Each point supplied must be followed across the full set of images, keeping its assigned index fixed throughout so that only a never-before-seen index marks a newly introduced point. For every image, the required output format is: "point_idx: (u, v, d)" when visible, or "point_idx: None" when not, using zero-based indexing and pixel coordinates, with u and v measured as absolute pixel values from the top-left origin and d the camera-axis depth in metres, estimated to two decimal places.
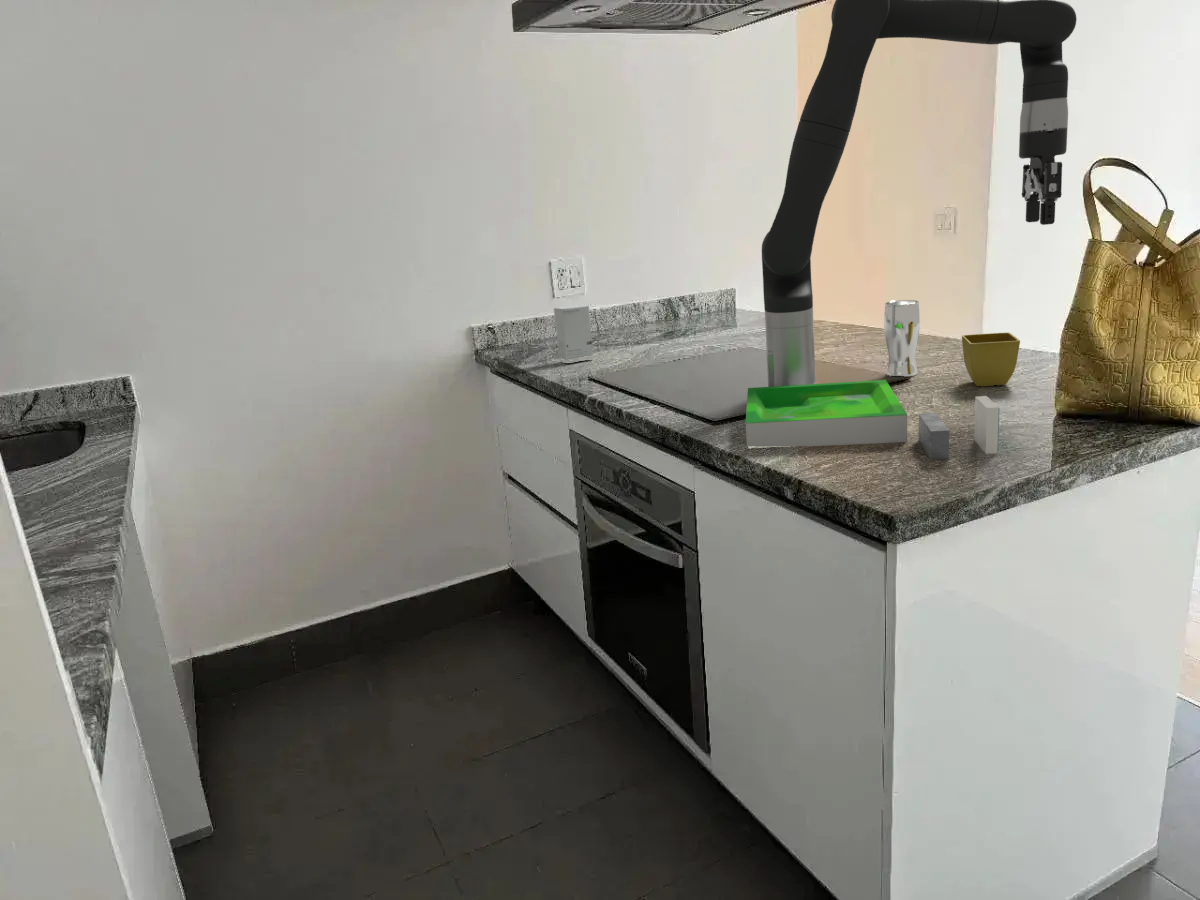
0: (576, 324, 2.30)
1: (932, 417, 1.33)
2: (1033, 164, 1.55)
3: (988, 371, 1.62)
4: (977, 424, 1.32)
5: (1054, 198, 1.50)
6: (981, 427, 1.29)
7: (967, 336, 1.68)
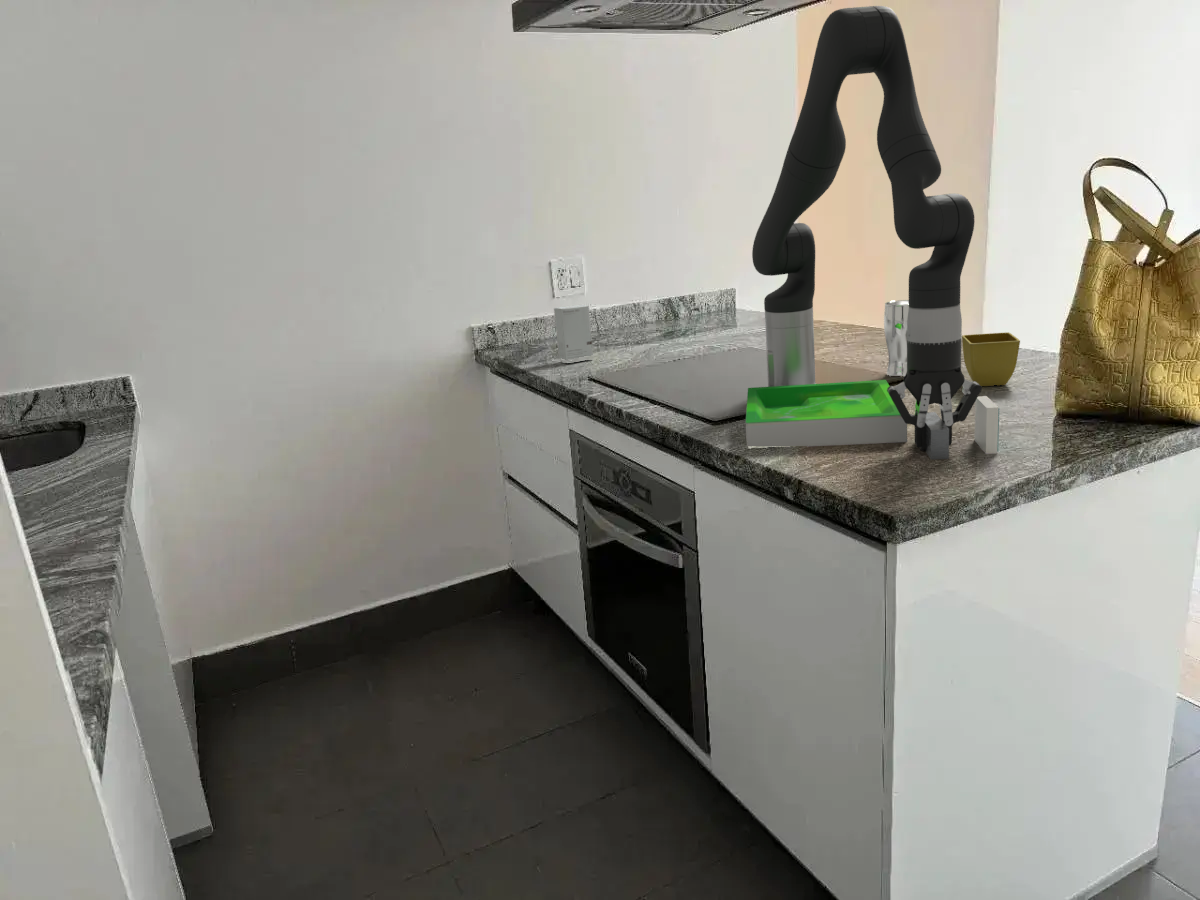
0: (576, 324, 2.30)
1: (932, 416, 1.33)
2: (927, 377, 1.28)
3: (988, 371, 1.62)
4: (977, 424, 1.32)
5: None
6: (981, 427, 1.29)
7: (967, 336, 1.68)
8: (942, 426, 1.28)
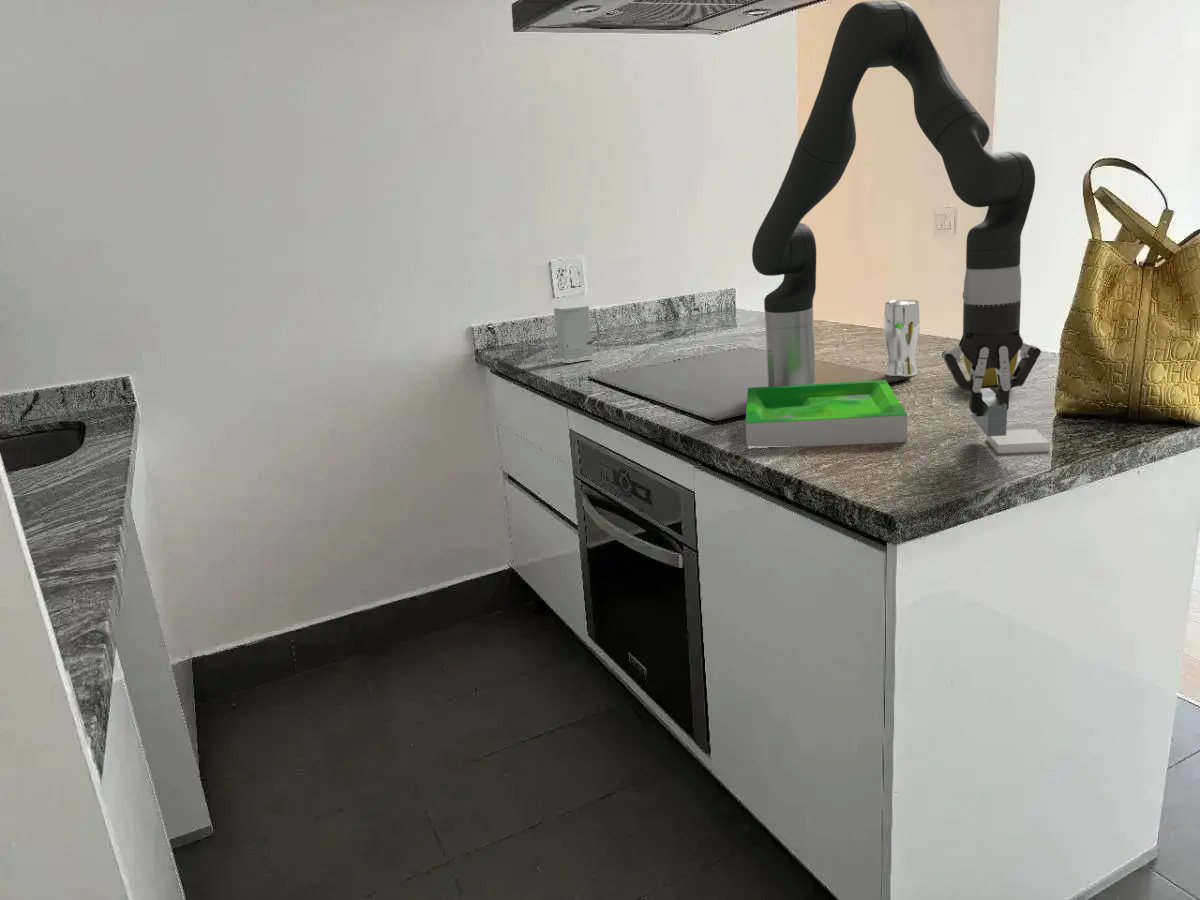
0: (576, 324, 2.30)
1: (987, 392, 1.31)
2: (984, 341, 1.25)
3: (988, 371, 1.62)
4: (1010, 433, 1.31)
5: None
6: (1016, 438, 1.29)
7: None
8: (999, 402, 1.25)
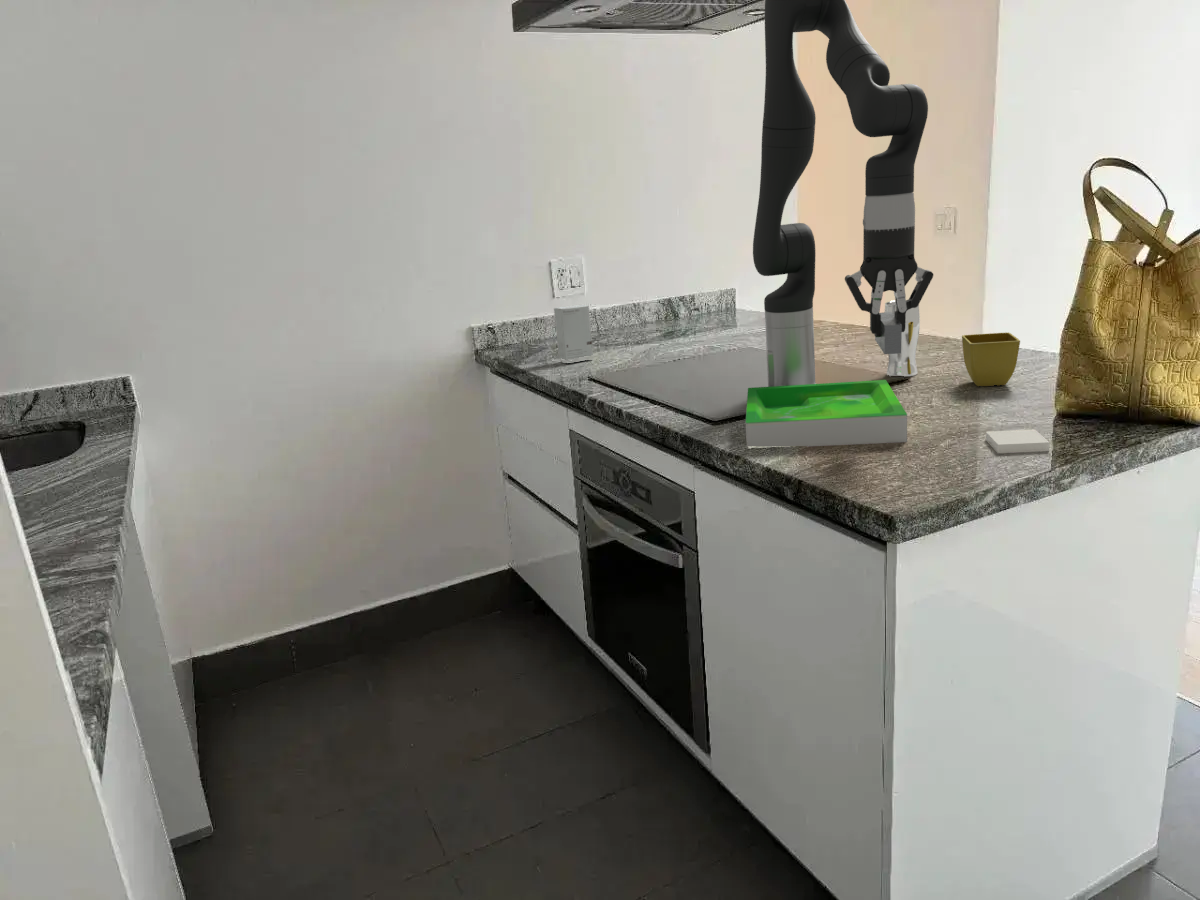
0: (576, 324, 2.30)
1: (887, 315, 1.40)
2: (882, 265, 1.34)
3: (988, 371, 1.62)
4: (1009, 433, 1.31)
5: None
6: (1016, 438, 1.29)
7: (967, 336, 1.68)
8: (896, 322, 1.34)
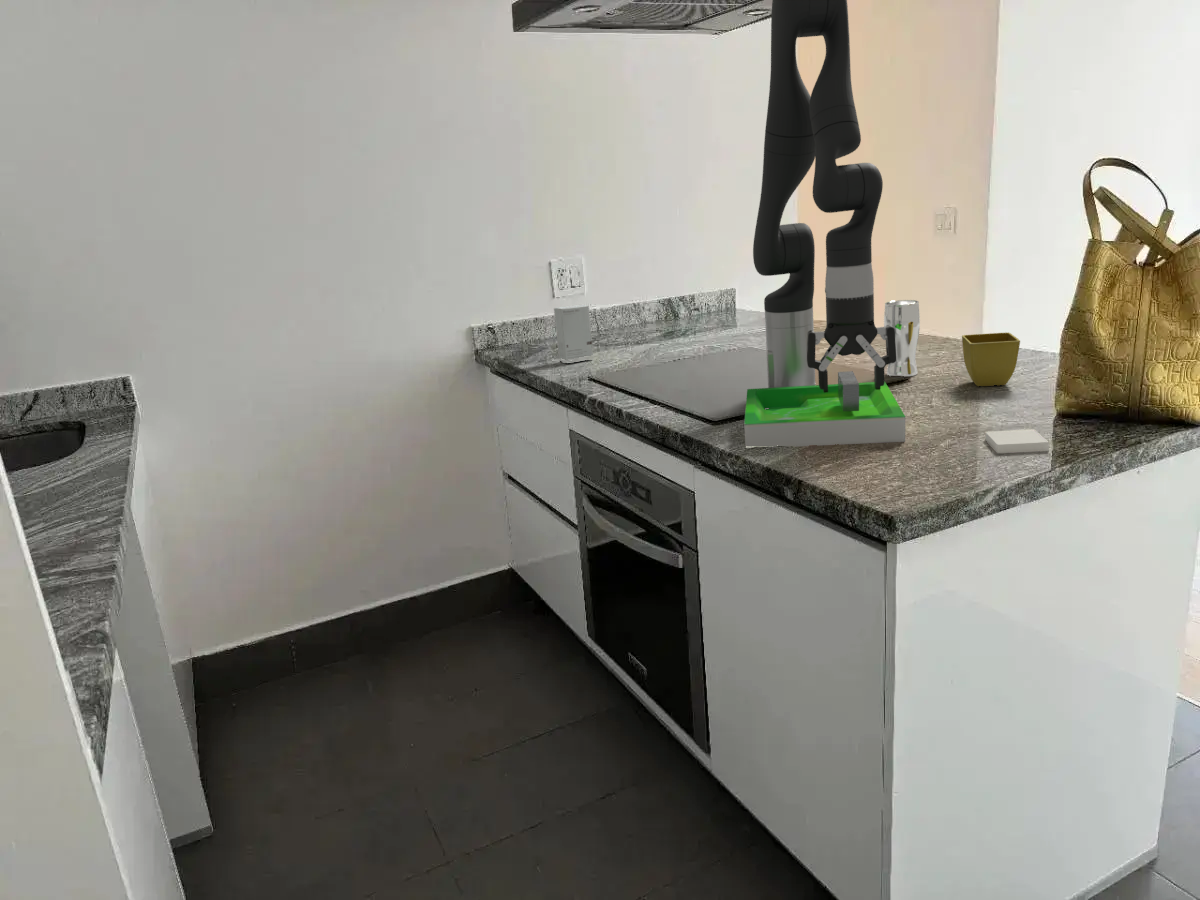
0: (576, 324, 2.30)
1: (848, 374, 1.48)
2: (844, 330, 1.42)
3: (988, 371, 1.62)
4: (1009, 433, 1.31)
5: None
6: (1015, 438, 1.29)
7: (967, 336, 1.68)
8: (854, 381, 1.42)
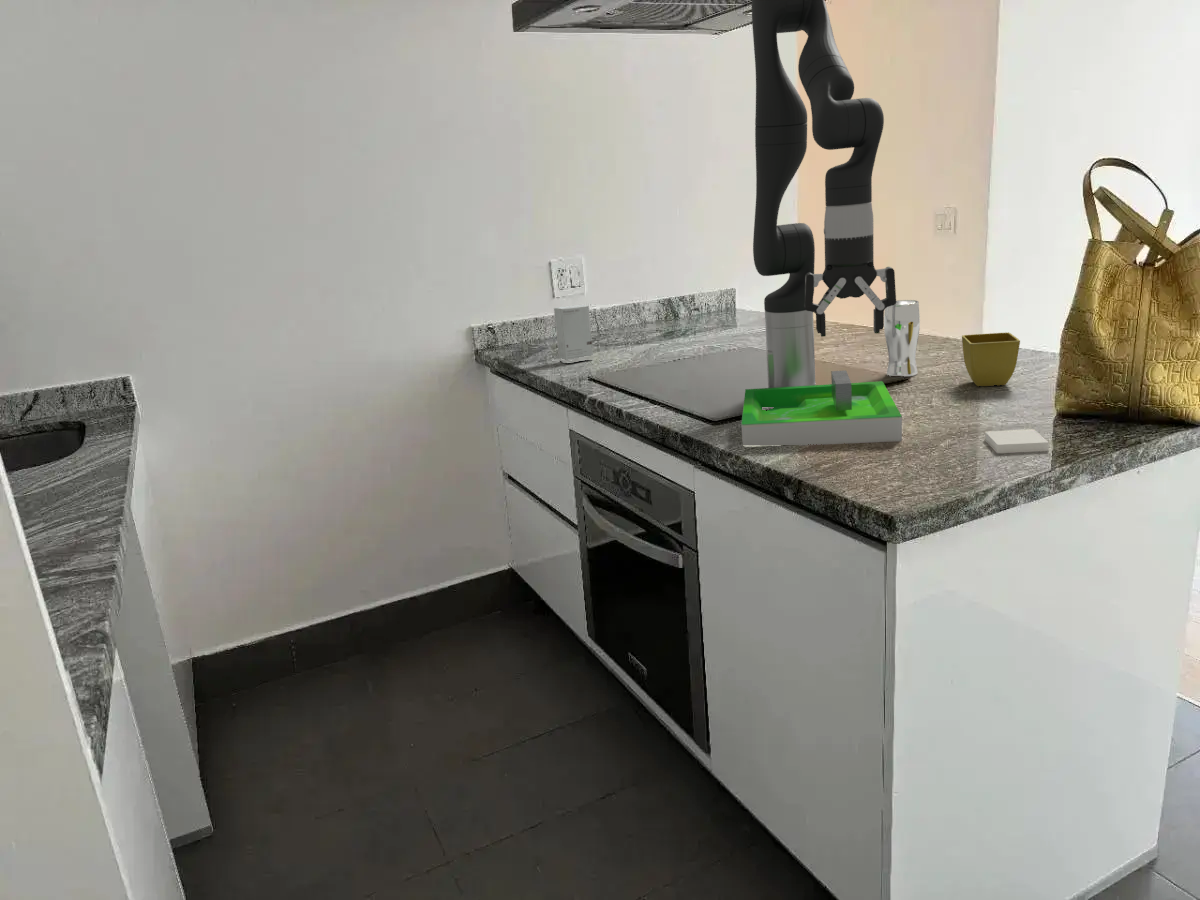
0: (576, 324, 2.30)
1: (841, 374, 1.49)
2: (842, 272, 1.39)
3: (988, 371, 1.62)
4: (1008, 433, 1.31)
5: None
6: (1015, 438, 1.29)
7: (967, 336, 1.68)
8: (846, 381, 1.44)
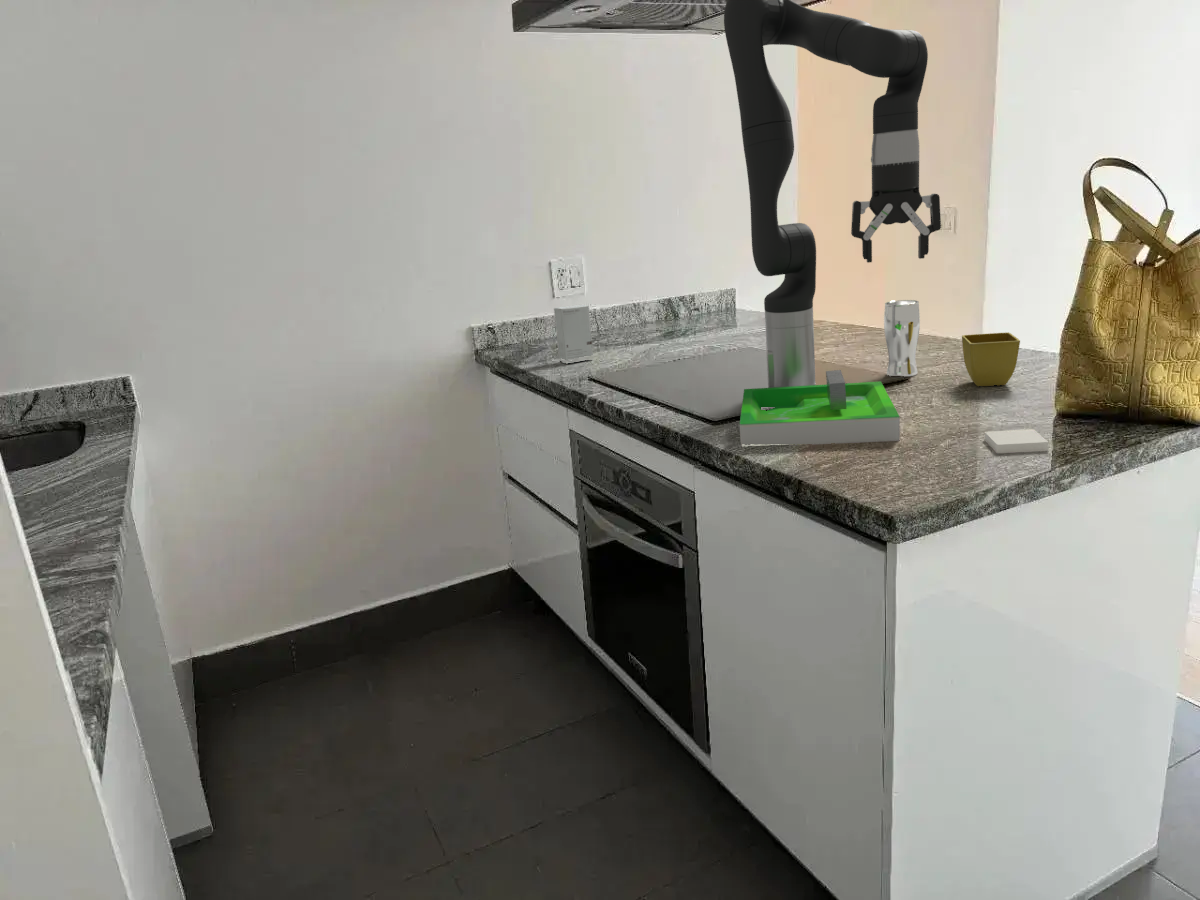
0: (576, 324, 2.30)
1: (836, 373, 1.50)
2: (889, 198, 1.45)
3: (988, 371, 1.62)
4: (1008, 433, 1.31)
5: None
6: (1015, 437, 1.29)
7: (967, 336, 1.68)
8: (840, 380, 1.44)
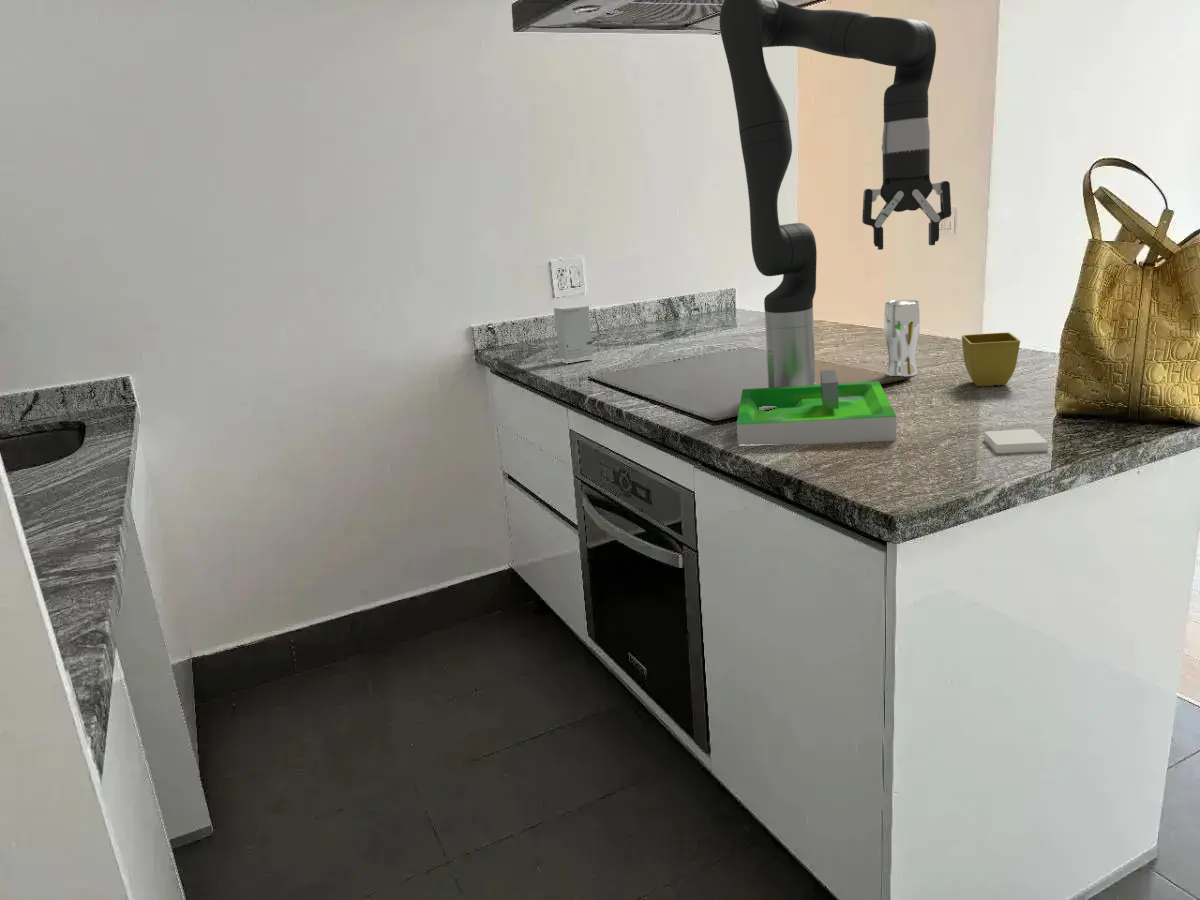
0: (576, 324, 2.30)
1: (830, 373, 1.51)
2: (900, 186, 1.47)
3: (988, 371, 1.62)
4: (1008, 433, 1.32)
5: None
6: (1014, 437, 1.29)
7: (967, 336, 1.68)
8: (833, 380, 1.45)
